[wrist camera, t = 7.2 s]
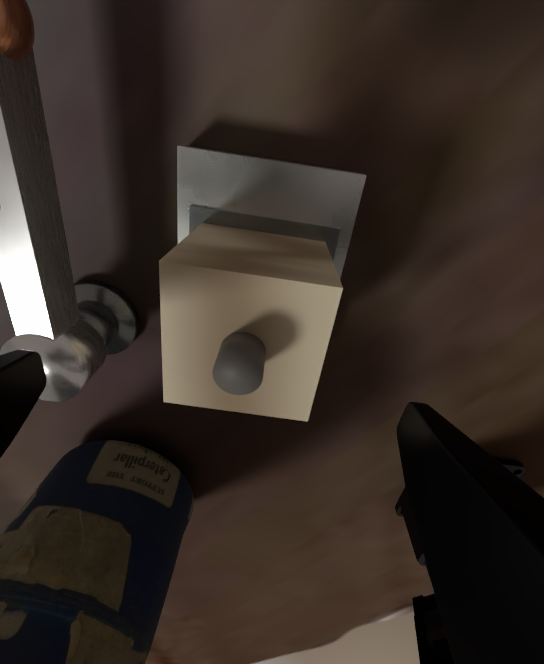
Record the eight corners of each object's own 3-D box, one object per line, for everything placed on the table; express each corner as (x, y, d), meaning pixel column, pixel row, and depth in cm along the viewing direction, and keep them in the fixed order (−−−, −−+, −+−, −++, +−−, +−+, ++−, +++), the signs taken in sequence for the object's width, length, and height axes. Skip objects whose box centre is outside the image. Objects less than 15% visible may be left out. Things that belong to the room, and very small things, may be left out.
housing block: (325, 241, 13) (350, 307, 8) (302, 345, 16) (309, 449, 10) (202, 222, 13) (140, 276, 8) (198, 330, 16) (150, 428, 10)
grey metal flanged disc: (137, 286, 16) (113, 308, 14) (141, 353, 18) (121, 381, 16) (56, 274, 16) (19, 294, 14) (69, 343, 18) (40, 370, 16)
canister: (70, 408, 20) (-685, 1251, 5) (215, 455, 21) (-40, 1300, 6) (66, 492, 25) (-320, 1050, 10) (185, 528, 26) (1, 1093, 11)
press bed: (359, 172, 13) (367, 175, 12) (315, 354, 18) (317, 371, 16) (188, 145, 13) (176, 145, 12) (186, 336, 18) (177, 352, 16)
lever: (59, -25, 9) (-10, -76, 7) (112, 374, 16) (85, 409, 14) (-60, -45, 9) (-166, -103, 7) (45, 365, 16) (7, 399, 14)
